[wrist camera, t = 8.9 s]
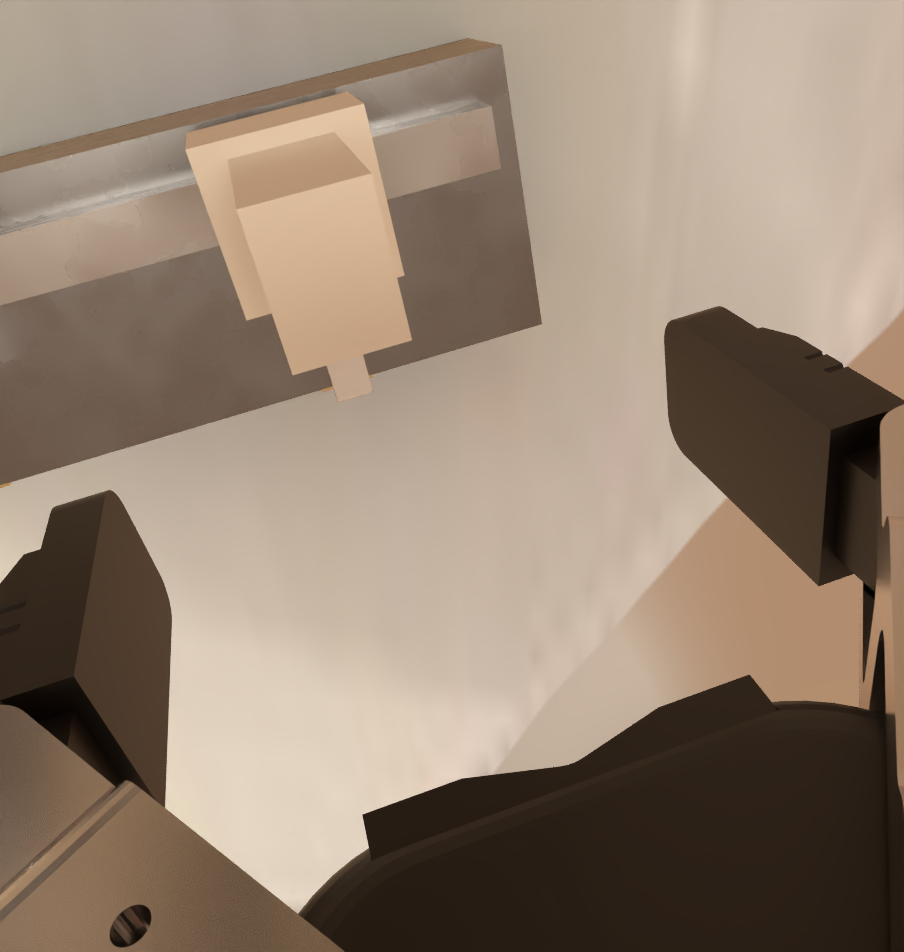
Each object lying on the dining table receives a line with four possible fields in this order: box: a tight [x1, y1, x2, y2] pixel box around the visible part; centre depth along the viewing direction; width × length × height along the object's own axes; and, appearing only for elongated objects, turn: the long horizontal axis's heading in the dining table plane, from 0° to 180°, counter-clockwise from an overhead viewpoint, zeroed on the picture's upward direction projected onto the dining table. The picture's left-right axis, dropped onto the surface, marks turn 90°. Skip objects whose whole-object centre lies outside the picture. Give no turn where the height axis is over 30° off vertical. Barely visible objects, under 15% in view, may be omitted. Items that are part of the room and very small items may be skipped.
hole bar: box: [0, 38, 542, 488], centre depth 27 cm, size 10×28×11 cm, turn 103°
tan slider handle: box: [185, 92, 412, 402], centre depth 24 cm, size 8×5×10 cm, turn 13°
